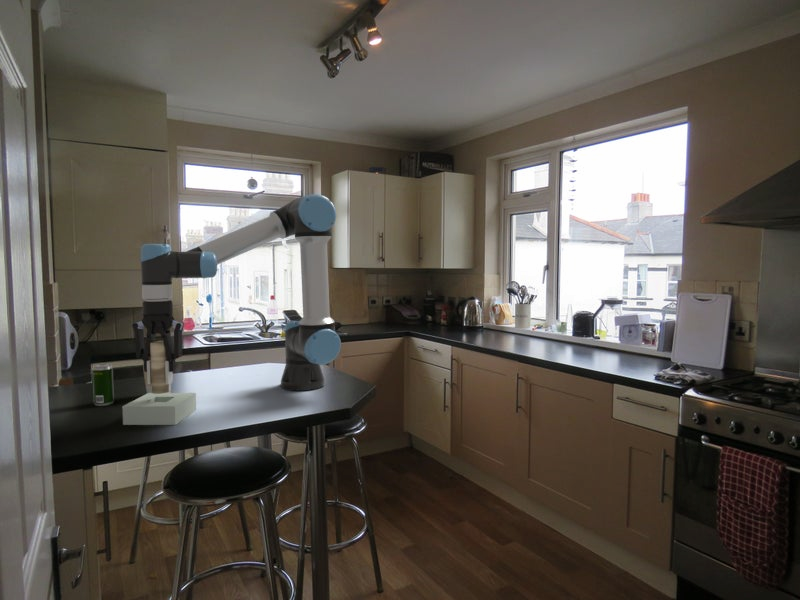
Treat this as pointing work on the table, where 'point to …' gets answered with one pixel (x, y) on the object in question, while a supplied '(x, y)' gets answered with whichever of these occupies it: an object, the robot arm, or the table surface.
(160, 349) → the beech pin
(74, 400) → the table surface
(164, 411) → the bore block
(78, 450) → the table surface
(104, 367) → the beer can
